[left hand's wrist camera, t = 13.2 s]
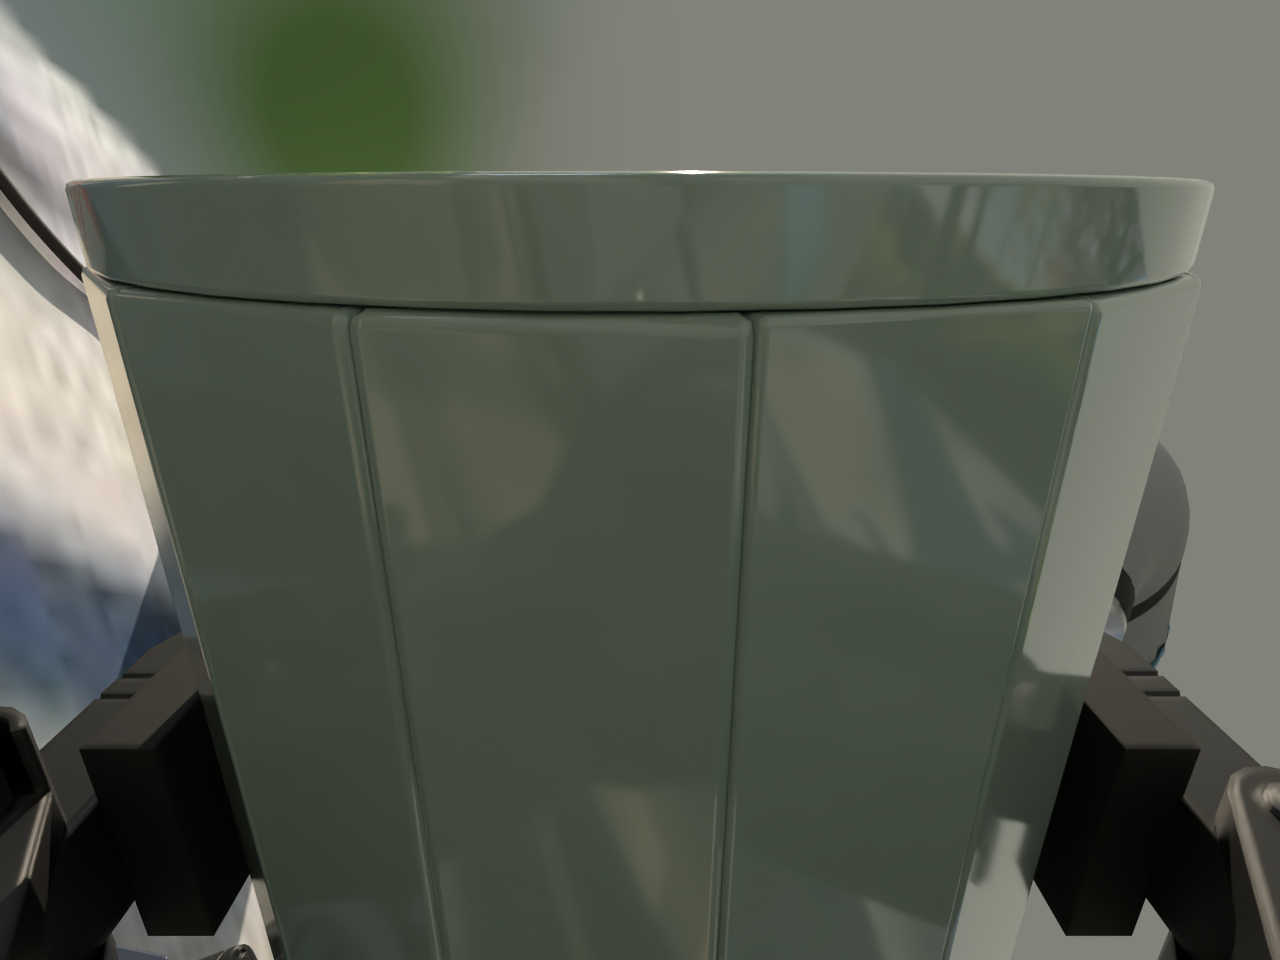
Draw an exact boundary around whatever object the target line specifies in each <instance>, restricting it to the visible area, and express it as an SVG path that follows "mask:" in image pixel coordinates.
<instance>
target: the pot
mask: <svg viewBox="0 0 1280 960" xmlns="http://www.w3.org/2000/svg"><path fill="white" fill-rule="evenodd" d="M116 946H117V951H118V957H119V960H170V959H169V958H168V957H166V956H164V955H160V954H156V953H151V952H146V951H142V950H137V949H132V948H128V947H123V946H118V945H116Z"/></svg>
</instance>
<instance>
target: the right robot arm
mask: <svg viewBox="0 0 1280 960" xmlns="http://www.w3.org/2000/svg"><path fill="white" fill-rule="evenodd" d="M0 190H1V191H2V192H3V194H4V195H5V196H6V197H7V199H8V200H9V201H10V203H11V204H12V205H13V206H14V208H15V209H16V210H17V211H18V212H19V214H20V215H21V216H22V217H23V219H24V220H25V221H26V222H27V223H28V225H29V226H30V227H31V228H32V229H33V230H34V232H35V233H36V234H37V235H38V236H39V237H40V238H41V240H42V241H43V242H44V243H45V244H46V245H47V246H48V247H49V248H50V250H51V251H52V252H53V253H54V254H55V255H56V256H57V257H58V258H59V259H60V260H61V261H62V262H63V263H64V264H65V265H66V266H67V267H68V269H69V270H70V271H71V272H72V273H73V274H74V275H75V276H76V277H77V278H78V279H79V280H80V281H81V282H82V283H83V279H82V276H81V275H82V270H83V268H85V267H84V266H83V265H82V264H81V263H80V262H79V261H78V260H77V259H76V258H75V257H74V256H73V255H72V254H71V253H70V251H69V250H68V249H67V248H66V247H65V246H64V245H63V244H62V243H61V242H60V240H59V239H58V238H57V237H56V236H55V235H54V234H53V233H52V231H51V230H50V229H49V228H48V227H47V226H46V224H45V223H44V222H43V221H42V220H41V219H40V217H39V216H38V215H37V214H36V212H35V211H34V210H33V209H32V208H31V206H30V205H29V204H28V202H27V201H26V200H25V199H24V197H23V196H22V195H21V194H20V192H19V191H18V190H17V188H16V187H15V186H14V184H13V183H12V182H11V181H10V179H9V178H8V177H7V175H6V174H5V173H4V171H3V170H2V169H1V167H0ZM1189 517H1190V510H1189V503H1188V498H1187V492H1186V486H1185V484H1184V481H1183V478H1182V475H1181V472H1180V470H1179V468H1178V467H1177V465H1176V463H1175V462H1174V460H1173V459H1172V457H1171V456H1170V454H1169V452H1168V451H1167V449H1166V448H1165V447H1164V446H1163V445H1162V444H1161V443H1160V442H1159V441H1158V443H1157V446H1156V450H1155V454H1154V457H1153V461H1152V464H1151V468H1150V471H1149V475H1148V478H1147V482H1146V485H1145V489H1144V492H1143V496H1142V499H1141V503H1140V506H1139V510H1138V513H1137V517H1136V520H1135V524H1134V527H1133V531H1132V534H1131V538H1130V541H1129V545H1128V548H1127V552H1126V555H1125V559H1124V562H1123V566H1122V569H1121V573H1120V576H1119V580H1118V583H1117V587H1116V590H1115V594H1114V597H1113V601H1112V604H1111V608H1110V611H1109V615H1108V618H1107V622H1106V625H1105V629H1104V632H1105V633H1107V634H1109V635H1111V636H1112V637H1114V638H1116V639H1118V640H1119V641H1121V642H1123V643H1125V644H1127V645H1128V646H1130V647H1132V648H1133V649H1134V650H1135V651H1136V652H1137V653H1138V654H1139V655H1140V656H1142V657H1143V658H1144V659H1145V660H1146V661H1147V662H1148V663H1149V664H1150V665H1151V666H1152V667H1154V668H1156V666H1157V664H1158V663H1159V660H1160V659H1161V657H1162V656H1163V655H1164V653H1165V643H1166V640H1167V637H1168V634H1169V631H1170V627H1169V621H1170V616H1171V610H1172V605H1173V600H1174V594H1175V589H1176V584H1177V579H1178V574H1179V569H1180V565H1181V560H1182V557H1183V554H1184V551H1185V547H1186V543H1187V537H1188V532H1189ZM200 960H257V958H256V956H255V954H254V952H253V950H252V949H251V948H250V946H248V945H246V944H242V945H238V946H235V947H232V948H230V949H227V950H224V951H221V952H219V953H216V954H213V955H211V956H208V957H205V958H202V959H200Z"/></svg>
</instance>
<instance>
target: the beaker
mask: <svg viewBox="0 0 1280 960" xmlns="http://www.w3.org/2000/svg"><path fill="white" fill-rule="evenodd" d="M65 190H66V194H67V197H68V201H69V205H70V208H71V212H72V215H73V219H74V223H75V226H76V230H77V233H78V237H79V241H80V244H81V248H82V251H83V255H84V259H85V262H86V266H87V267H85V268H83V270H82V275H81V276H82V279H83V283H84V286H85V290H86V293H87V297H88V300H89V304H90V307H91V311H92V315H93V318H94V322H95V325H96V329H97V332H98V336H99V339H100V343H101V347H102V350H103V354H104V357H105V361H106V364H107V368H108V371H109V375H110V379H111V382H112V386H113V389H114V393H115V396H116V400H117V403H118V407H119V410H120V414H121V418H122V421H123V425H124V428H125V432H126V435H127V439H128V442H129V446H130V450H131V453H132V457H133V460H134V464H135V467H136V471H137V474H138V478H139V481H140V485H141V489H142V492H143V496H144V499H145V503H146V506H147V510H148V513H149V517H150V521H151V524H152V528H153V531H154V535H155V538H156V542H157V545H158V549H159V552H160V556H161V560H162V563H163V567H164V570H165V574H166V577H167V581H168V584H169V588H170V592H171V595H172V599H173V602H174V606H175V609H176V613H177V616H178V620H179V624H180V627H181V631H182V634H183V638H184V641H185V645H186V648H187V652H188V655H189V659H190V663H191V666H192V670H193V673H194V677H195V680H196V684H197V687H198V691H199V695H200V698H201V702H202V705H203V709H204V712H205V716H206V719H207V723H208V726H209V730H210V734H211V737H212V741H213V744H214V748H215V751H216V755H217V758H218V762H219V766H220V769H221V773H222V776H223V780H224V783H225V787H226V790H227V794H228V797H229V801H230V805H231V808H232V812H233V815H234V819H235V822H236V826H237V829H238V833H239V837H240V840H241V844H242V847H243V851H244V854H245V858H246V861H247V865H248V868H249V872H250V876H251V879H252V883H253V886H254V890H255V893H256V897H257V900H258V904H259V908H260V911H261V915H262V918H263V922H264V925H265V929H266V932H267V936H268V940H269V943H270V947H271V950H272V954H273V957H274V960H1010V959H1011V955H1012V952H1013V948H1014V945H1015V941H1016V938H1017V934H1018V931H1019V927H1020V924H1021V920H1022V917H1023V913H1024V909H1025V906H1026V903H1027V899H1028V896H1029V892H1030V889H1031V885H1032V882H1033V878H1034V875H1035V871H1036V868H1037V864H1038V861H1039V857H1040V854H1041V850H1042V846H1043V843H1044V839H1045V836H1046V832H1047V829H1048V825H1049V822H1050V818H1051V815H1052V811H1053V808H1054V804H1055V801H1056V797H1057V794H1058V790H1059V787H1060V783H1061V780H1062V776H1063V773H1064V769H1065V766H1066V762H1067V759H1068V755H1069V752H1070V748H1071V745H1072V741H1073V738H1074V734H1075V731H1076V727H1077V724H1078V720H1079V717H1080V713H1081V710H1082V706H1083V703H1084V699H1085V696H1086V692H1087V689H1088V685H1089V682H1090V678H1091V675H1092V671H1093V668H1094V664H1095V661H1096V657H1097V654H1098V650H1099V646H1100V643H1101V639H1102V636H1103V632H1104V629H1105V625H1106V622H1107V618H1108V615H1109V611H1110V608H1111V604H1112V601H1113V597H1114V594H1115V590H1116V587H1117V583H1118V580H1119V576H1120V573H1121V569H1122V566H1123V562H1124V559H1125V555H1126V552H1127V548H1128V545H1129V541H1130V538H1131V534H1132V531H1133V527H1134V524H1135V520H1136V517H1137V513H1138V510H1139V506H1140V503H1141V499H1142V496H1143V492H1144V489H1145V485H1146V482H1147V478H1148V475H1149V471H1150V468H1151V464H1152V461H1153V457H1154V454H1155V450H1156V446H1157V443H1158V439H1159V436H1160V432H1161V429H1162V425H1163V422H1164V418H1165V415H1166V411H1167V408H1168V404H1169V401H1170V397H1171V394H1172V390H1173V387H1174V383H1175V380H1176V376H1177V373H1178V369H1179V366H1180V362H1181V359H1182V355H1183V352H1184V348H1185V345H1186V341H1187V338H1188V334H1189V331H1190V327H1191V324H1192V320H1193V317H1194V313H1195V310H1196V306H1197V302H1198V299H1199V296H1200V292H1201V289H1202V287H1201V282H1200V278H1199V277H1197V276H1195V275H1193V274H1191V273H1189V272H1187V271H1188V270H1189V268H1190V267H1191V266H1192V265H1193V264H1194V262H1195V259H1196V255H1197V252H1198V248H1199V245H1200V241H1201V237H1202V234H1203V230H1204V227H1205V223H1206V219H1207V216H1208V212H1209V208H1210V205H1211V201H1212V198H1213V194H1214V185H1213V183H1210V182H1207V181H1205V180H1201V179H1187V178H1170V177H1144V176H1110V175H1068V174H1006V173H928V172H926V173H925V172H791V171H789V172H788V171H786V172H785V171H494V172H357V173H356V172H354V173H271V174H214V175H169V176H134V177H110V178H90V179H80V180H73V181H70V182H68V183H67V184H66V189H65Z"/></svg>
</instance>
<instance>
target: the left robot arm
mask: <svg viewBox="0 0 1280 960" xmlns="http://www.w3.org/2000/svg"><path fill="white" fill-rule="evenodd" d="M249 874H250V872H249V868H248V865H247V861H246V858H245V854H244V851H243V847H242V844H241V840H240V837H239V833H238V829H237V826H236V822H235V819H234V815H233V812H232V808H231V805H230V801H229V797H228V794H227V790H226V787H225V783H224V780H223V776H222V773H221V769H220V766H219V762H218V758H217V755H216V751H215V748H214V744H213V741H212V737H211V734H210V730H209V726H208V723H207V719H206V716H205V712H204V709H203V705H202V702H201V698H200V695H199V691H198V687H197V684H196V680H195V677H194V673H193V670H192V666H191V663H190V659H189V655H188V652H187V648H186V645H185V641H184V638H183V634H182V631H181V632H179V633H178V634H176V635H174V636H172V637H171V638H169V639H167V640H165V641H164V642H162V643H160V644H158V645H157V646H155V647H153V648H151V649H149V650H148V651H147V652H146V653H145V654H144V655H143V656H142V657H141V658H140V659H138V660H137V661H136V662H135V663H134V664H133V665H132V666H131V667H130V668H129V669H128V670H127V671H125V672H124V673H123V678H122V679H117V680H116V681H115V682H114V683H112V684H111V685H110V686H109V687H108V688H107V689H106V690H105V691H104V692H103V693H102V694H101V698H100V699H95V700H94V701H93V702H92V703H91V704H90V705H89V706H87V707H86V708H85V709H84V710H83V711H82V712H81V713H80V714H79V715H78V716H77V717H76V718H74V719H73V720H72V721H71V722H70V723H69V724H68V725H67V726H66V727H65V728H64V729H63V730H61V731H60V732H59V733H58V734H57V735H56V736H55V737H54V738H53V739H52V740H51V741H49V742H48V743H47V744H46V745H45V746H44V747H43V748H42V749H41V750H40V751H39V749H38V747H37V744H36V742H35V739H34V736H33V734H32V731H31V729H30V726H29V724H28V721H27V719H26V716H25V715H24V714H23V713H21V712H19V711H18V710H16V709H14V708H12V707H0V960H119V957H118V951H117V946H116V942H115V940H114V937H113V935H112V931H113V930H114V928H115V927H116V926H117V924H118V923H119V921H120V920H121V919H122V917H123V916H124V914H125V913H126V912H127V910H128V909H129V907H130V906H131V905H132V903H133V902H134V900H135V902H136V905H137V907H138V910H139V913H140V915H141V918H142V921H143V924H144V926H145V929H146V932H147V934H148V936H214V935H215V933H216V931H217V930H218V928H219V926H220V924H221V923H222V921H223V919H224V917H225V916H226V914H227V912H228V910H229V909H230V907H231V905H232V904H233V902H234V900H235V898H236V897H237V895H238V893H239V891H240V890H241V888H242V886H243V884H244V883H245V881H246V879H247V878H248V876H249ZM1033 880H1034V881H1035V883H1036V885H1037V886H1038V888H1039V890H1040V892H1041V893H1042V895H1043V897H1044V899H1045V900H1046V902H1047V904H1048V906H1049V907H1050V909H1051V911H1052V912H1053V914H1054V916H1055V918H1056V919H1057V921H1058V923H1059V925H1060V926H1061V928H1062V930H1063V931H1064V933H1065V935H1066V936H1132V934H1133V931H1134V928H1135V926H1136V923H1137V920H1138V918H1139V915H1140V912H1141V909H1142V907H1143V904H1144V901H1145V899H1146V898H1147V900H1148V901H1149V902H1150V904H1151V905H1152V906H1153V908H1154V909H1155V911H1156V912H1157V913H1158V915H1159V916H1160V918H1161V919H1162V920H1163V922H1164V923H1165V924H1166V926H1167V927H1168V929H1169V932H1168V935H1167V937H1166V940H1165V942H1164V945H1163V947H1162V950H1161V953H1160V955H1159V958H1158V960H1280V769H1278V768H1272V767H1267V766H1261V765H1260V764H1258V763H1257V762H1256V761H1255V760H1254V759H1253V758H1252V757H1251V756H1250V755H1249V754H1248V753H1246V752H1245V751H1244V750H1243V749H1242V748H1241V747H1240V746H1239V745H1238V744H1237V743H1236V742H1234V741H1233V740H1232V739H1231V738H1230V737H1229V736H1228V735H1227V734H1226V733H1225V732H1223V731H1222V730H1221V729H1220V728H1219V727H1218V726H1217V725H1216V724H1215V723H1214V722H1213V721H1211V720H1210V719H1209V718H1208V717H1207V716H1206V715H1205V714H1204V713H1203V712H1202V711H1201V710H1199V709H1198V708H1197V707H1196V706H1195V705H1194V704H1193V703H1192V702H1191V701H1190V700H1189V699H1187V698H1186V697H1181V696H1180V691H1179V690H1178V689H1177V688H1175V687H1174V686H1173V685H1172V684H1171V683H1170V682H1169V681H1168V680H1167V679H1166V678H1164V677H1163V676H1158V671H1157V670H1156V669H1155V668H1154V667H1152V666H1151V665H1150V664H1149V663H1148V662H1147V661H1146V660H1145V659H1144V658H1143V657H1142V656H1140V655H1139V654H1138V653H1137V652H1136V651H1135V650H1134V649H1133V648H1132V647H1130V646H1128V645H1127V644H1125V643H1123V642H1121V641H1119V640H1118V639H1116V638H1114V637H1112V636H1111V635H1109V634H1107V633H1105V632H1103V636H1102V639H1101V643H1100V646H1099V650H1098V654H1097V657H1096V661H1095V664H1094V668H1093V671H1092V675H1091V678H1090V682H1089V685H1088V689H1087V692H1086V696H1085V699H1084V703H1083V706H1082V710H1081V713H1080V717H1079V720H1078V724H1077V727H1076V731H1075V734H1074V738H1073V741H1072V745H1071V748H1070V752H1069V755H1068V759H1067V762H1066V766H1065V769H1064V773H1063V776H1062V780H1061V783H1060V787H1059V790H1058V794H1057V797H1056V801H1055V804H1054V808H1053V811H1052V815H1051V818H1050V822H1049V825H1048V829H1047V832H1046V836H1045V839H1044V843H1043V846H1042V850H1041V854H1040V857H1039V861H1038V864H1037V868H1036V871H1035V875H1034V878H1033Z"/></svg>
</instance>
